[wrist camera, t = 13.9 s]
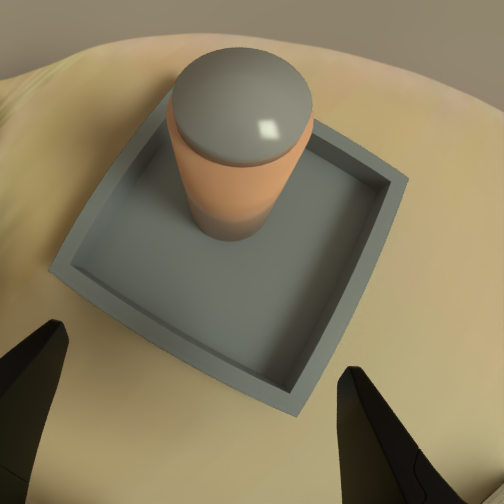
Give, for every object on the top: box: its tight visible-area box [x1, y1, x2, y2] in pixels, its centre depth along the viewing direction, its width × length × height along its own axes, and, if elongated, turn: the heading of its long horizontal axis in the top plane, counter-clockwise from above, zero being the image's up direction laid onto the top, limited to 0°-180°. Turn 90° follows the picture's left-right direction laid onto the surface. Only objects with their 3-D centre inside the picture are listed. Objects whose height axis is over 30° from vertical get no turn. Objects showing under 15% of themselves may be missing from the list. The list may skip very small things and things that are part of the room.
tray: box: [49, 86, 409, 417], centre depth 17 cm, size 15×15×2 cm
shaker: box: [166, 47, 314, 242], centre depth 13 cm, size 4×4×10 cm
